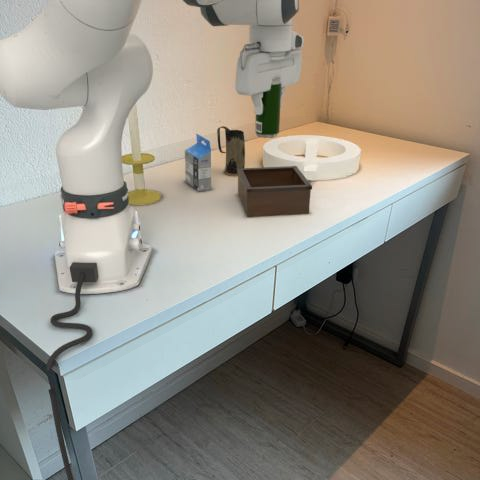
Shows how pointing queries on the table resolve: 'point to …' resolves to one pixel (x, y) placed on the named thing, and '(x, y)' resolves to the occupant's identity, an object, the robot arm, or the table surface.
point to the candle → (138, 165)
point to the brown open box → (273, 191)
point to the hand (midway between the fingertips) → (268, 111)
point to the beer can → (270, 112)
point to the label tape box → (198, 165)
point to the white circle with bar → (313, 156)
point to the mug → (233, 150)
